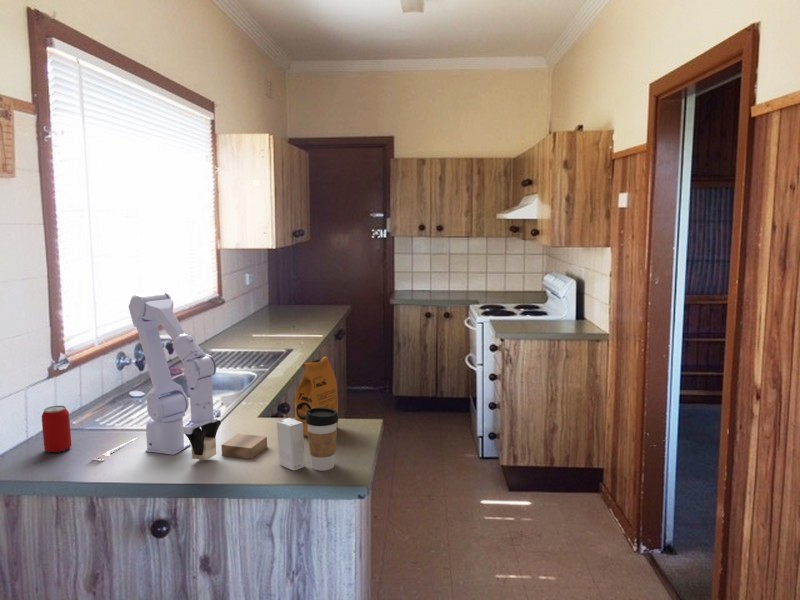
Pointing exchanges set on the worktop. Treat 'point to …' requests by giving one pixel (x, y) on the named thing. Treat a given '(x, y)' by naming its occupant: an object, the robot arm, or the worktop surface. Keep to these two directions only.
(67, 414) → the beverage can
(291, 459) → the skincare box
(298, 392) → the coffee package
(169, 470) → the worktop surface
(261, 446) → the walnut base
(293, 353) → the worktop surface
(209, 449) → the birch block
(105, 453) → the fork
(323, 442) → the coffee cup
